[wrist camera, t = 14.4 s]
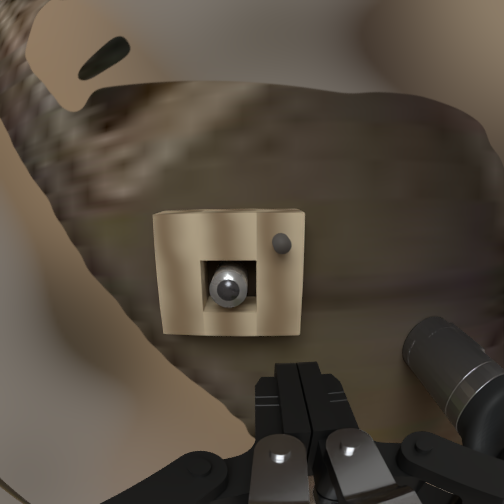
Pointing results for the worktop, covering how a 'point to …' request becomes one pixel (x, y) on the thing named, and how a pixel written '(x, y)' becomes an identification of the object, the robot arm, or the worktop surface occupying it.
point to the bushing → (229, 283)
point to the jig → (230, 248)
